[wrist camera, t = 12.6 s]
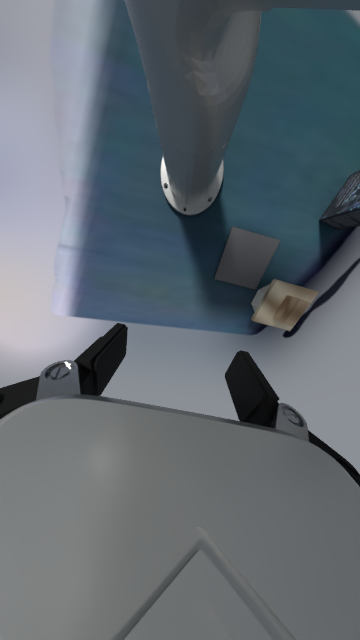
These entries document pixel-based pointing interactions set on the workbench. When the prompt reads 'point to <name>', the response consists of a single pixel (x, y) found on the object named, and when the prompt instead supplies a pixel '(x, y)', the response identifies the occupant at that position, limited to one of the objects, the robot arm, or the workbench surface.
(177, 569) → the robot arm
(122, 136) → the workbench surface
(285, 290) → the beige plate with ridge
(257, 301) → the bowl
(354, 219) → the box
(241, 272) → the mat
